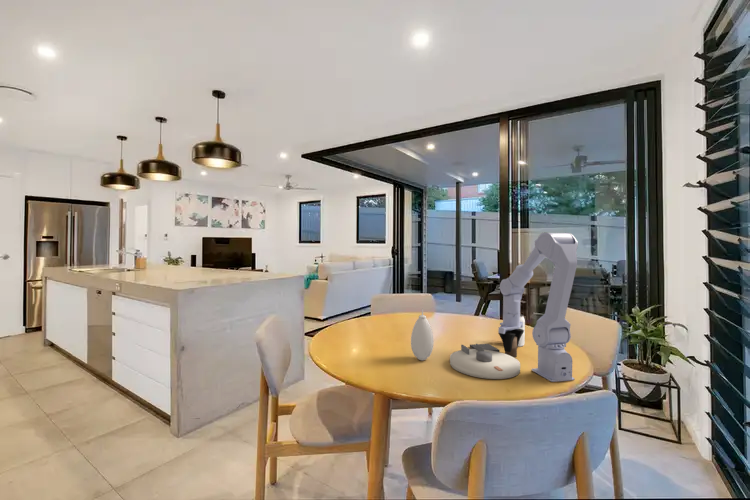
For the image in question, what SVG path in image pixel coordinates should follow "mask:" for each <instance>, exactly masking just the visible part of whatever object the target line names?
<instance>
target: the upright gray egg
mask: <svg viewBox="0 0 750 500" xmlns="http://www.w3.org/2000/svg"><path fill="white" fill-rule="evenodd" d="M434 341H435V339H434V333H433V329H432V327H431V324H430V322H429V320H428V319H427V316H426V315H424V308H422V309H421V315H419V316H418V318H417V319H416V321H415V323H414V325H413V328H412V331H411V335H410V347H411V351H412V354H413V355H414V356H415V357H416V359H417V360H419V361H425V360H427V359H428V358H430V356H431V355H432V352H433V349H434Z"/></svg>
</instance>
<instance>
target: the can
mask: <svg viewBox="0 0 750 500" xmlns="http://www.w3.org/2000/svg"><path fill="white" fill-rule="evenodd" d="M520 322H523V327H522V328H521V327H520V328H519V329H523V330H524V332H523V334H522V336H521V338H520V340H519V344H518V347H519V348H521V347H523V346H525V341H526V340H525V339H526V338H525V337H526V336H525V333H526V332H525V330H526V327H525V326H526V321H525V315H524V314H522V313H520Z"/></svg>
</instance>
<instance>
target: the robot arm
mask: <svg viewBox="0 0 750 500" xmlns="http://www.w3.org/2000/svg"><path fill="white" fill-rule="evenodd" d="M578 246H579V241H578V240H577V238H576V237H575V236H574V234H573V233H571V232H542V233H540V234H539V235H538V237H537V239H536V240H535V241H534V248H533V249H532V251H531V252H530V254H529V255H528V257H527V258H526V259H525V261H524V263H522V264H518V265H516V266H515V269H514V270H513V272H512V273H511V274H510V275H509V277H507V278H503V279H502V280H501V282H500V283H499V291H500V293H501V294H502V297H503V298H502V299H503V300H502V304H503V305H502V322H500V323H499V327H498V331H497V332H498V335H499V336H500V337H499V338H500V339H501V342H502V346H503V349H504V352H505V351H507V352H511V350H512V343H513V339H514V337H515V336H516V337H517V349H518V344H519V340H520V338H521V336H522V334H523V332H524V330H523V329H519V328H520V327H521V328H522V327H523V322H520V314H521V300H522V299H523V294H524V292H525V286H526V285H527V283H528V282H529V281H530V280H531V279H532V278H533V277H534V270H535V269H536V268H537V267H538V266H539V265H540V264H541V263H542V262H543V261H544V259H546V258H547V259H548V260H549V261H550V262H552V263H553V265H554V267H553V269H554V270H553V272H552V273H553V274H552V278H551V283H550V287H549V292H548V296H547V300H546V301H547V302H546V306H545V311H544V314H543V315H541V316H540V317H539V318H538V319H537V320H536V324H535V326H534V327H533V328H532V340H533V342H535V344H536V346H537V367H536V368H535V367H534V368H531V371H532V372H534V373H535V374H537V375H539V376H540V377H542V378H543V379H546V380H547V381H550V382H551V383H554V382H566V381H567V382H568V381H574V380H575V377H573V357H572V355H571V354H570V353H569V352H567V350H566V349H565V348H567V344H569V342H570V340H571V337H572V335H571V323H570V321H568V320H567V319H566V314H567V310H568V306H569V302H570V298H571V293H572V289H573V284H574V279H575V276H576V271H577V268H578V267H577V266H578V258H577V256H578V255H577V251H578V248H579V247H578Z"/></svg>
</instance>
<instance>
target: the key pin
mask: <svg viewBox="0 0 750 500" xmlns="http://www.w3.org/2000/svg"><path fill="white" fill-rule="evenodd" d="M504 354H507V355H510V356H512V357H514V358H516V359H517V356H518V355H517V354H518V348H517V337H516V336H515V337H514V339H513V343H512V350H511V352H507V351H505V350H504Z"/></svg>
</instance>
